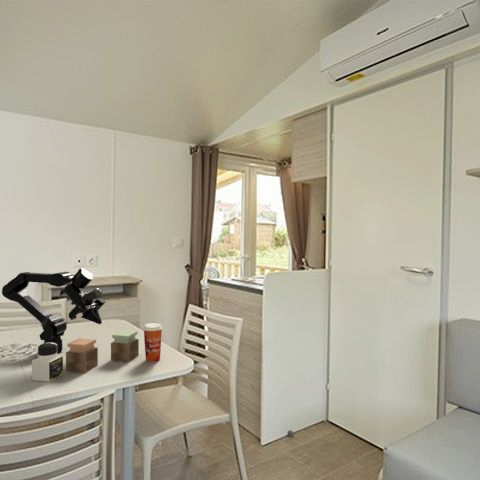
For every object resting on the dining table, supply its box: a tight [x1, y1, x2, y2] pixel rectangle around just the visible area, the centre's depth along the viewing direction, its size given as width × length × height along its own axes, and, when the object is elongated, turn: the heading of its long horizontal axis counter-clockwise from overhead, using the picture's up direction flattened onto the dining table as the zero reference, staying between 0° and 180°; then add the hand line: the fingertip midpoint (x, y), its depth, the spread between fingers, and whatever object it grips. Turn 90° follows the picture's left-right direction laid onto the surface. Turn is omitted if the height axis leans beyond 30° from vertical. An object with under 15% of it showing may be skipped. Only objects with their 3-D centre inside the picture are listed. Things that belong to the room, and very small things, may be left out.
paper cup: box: [142, 322, 163, 363], centre depth 154 cm, size 8×8×14 cm
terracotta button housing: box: [65, 346, 99, 374], centre depth 144 cm, size 8×8×7 cm
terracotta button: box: [67, 337, 97, 353], centre depth 144 cm, size 7×7×7 cm
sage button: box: [111, 329, 138, 344], centre depth 155 cm, size 7×7×7 cm
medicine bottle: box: [31, 342, 64, 383], centre depth 135 cm, size 7×7×12 cm
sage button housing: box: [110, 338, 140, 363], centre depth 156 cm, size 8×8×7 cm
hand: (100, 323), depth 158 cm, fingers closed
